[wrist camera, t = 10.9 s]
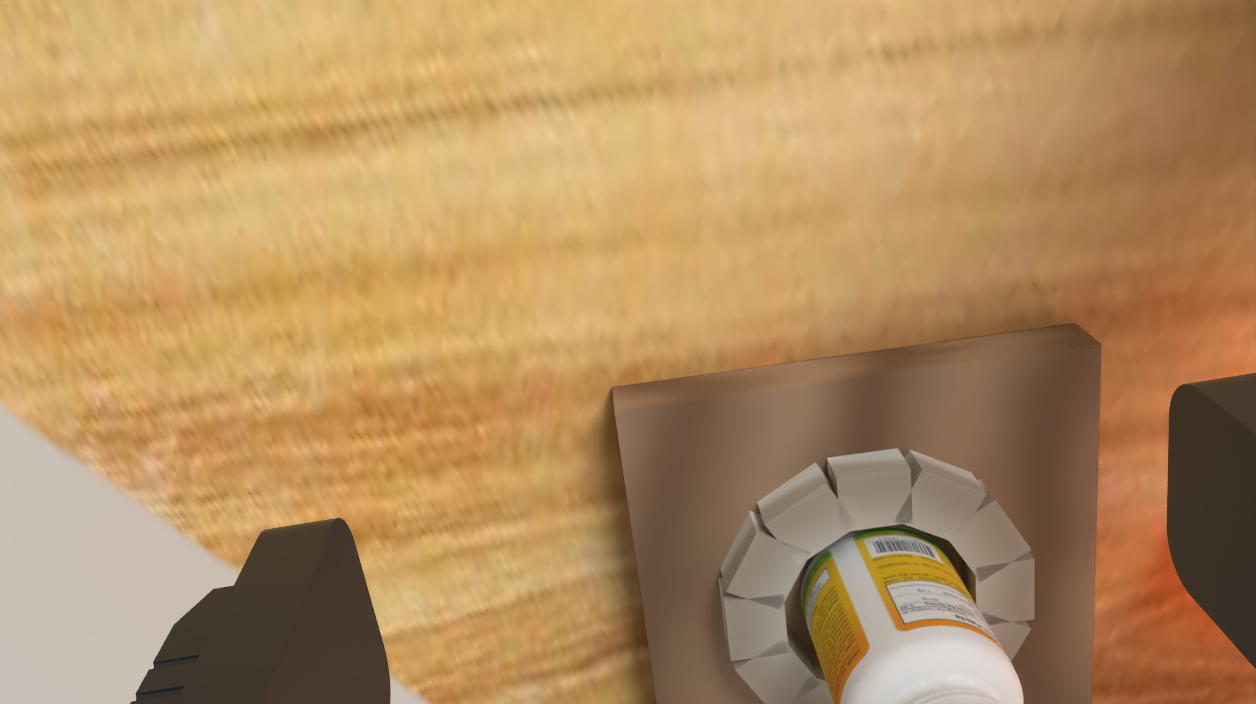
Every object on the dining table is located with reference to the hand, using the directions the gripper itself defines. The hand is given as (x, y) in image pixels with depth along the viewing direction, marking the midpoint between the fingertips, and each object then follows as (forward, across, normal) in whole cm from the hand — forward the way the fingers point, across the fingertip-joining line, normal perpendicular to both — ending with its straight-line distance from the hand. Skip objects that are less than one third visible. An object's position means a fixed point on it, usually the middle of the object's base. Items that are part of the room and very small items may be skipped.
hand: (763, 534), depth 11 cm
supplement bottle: (+25, -6, +18) cm, 31 cm away
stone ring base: (+26, -6, +18) cm, 32 cm away
